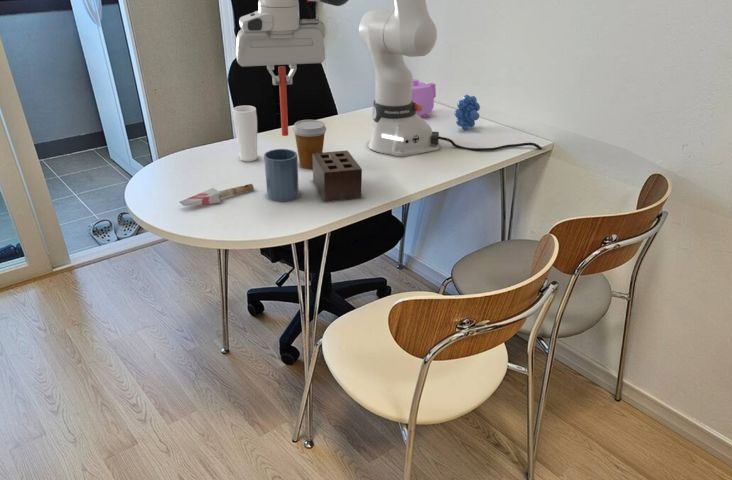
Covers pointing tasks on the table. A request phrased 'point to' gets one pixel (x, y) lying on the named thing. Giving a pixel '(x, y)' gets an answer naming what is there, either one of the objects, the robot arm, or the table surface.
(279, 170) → the tumbler
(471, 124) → the grapes
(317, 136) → the disposable coffee cup
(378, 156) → the table surface
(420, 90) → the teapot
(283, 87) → the straw
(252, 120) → the drinking glass
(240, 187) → the grey and wooden tool
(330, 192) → the caddy
